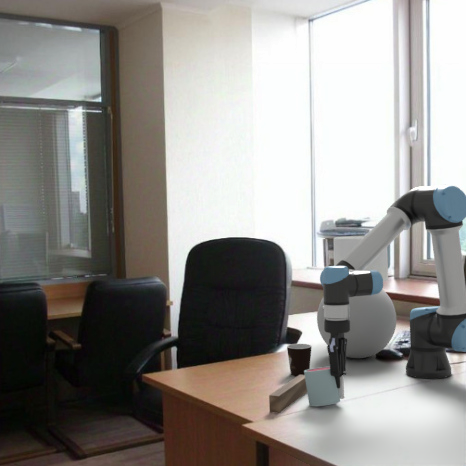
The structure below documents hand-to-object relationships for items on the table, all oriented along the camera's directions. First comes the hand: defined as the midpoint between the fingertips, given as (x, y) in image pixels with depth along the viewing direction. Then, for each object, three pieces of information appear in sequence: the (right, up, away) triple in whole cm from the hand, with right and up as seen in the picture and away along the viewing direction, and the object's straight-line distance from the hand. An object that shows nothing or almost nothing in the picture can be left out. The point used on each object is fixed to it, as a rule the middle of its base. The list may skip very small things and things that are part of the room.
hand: (338, 397), depth 211 cm
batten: (-14, -2, +6) cm, 15 cm away
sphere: (+17, +1, +64) cm, 66 cm away
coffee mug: (-8, -1, +41) cm, 41 cm away
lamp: (+25, +2, +97) cm, 100 cm away
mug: (-3, -2, +2) cm, 4 cm away
